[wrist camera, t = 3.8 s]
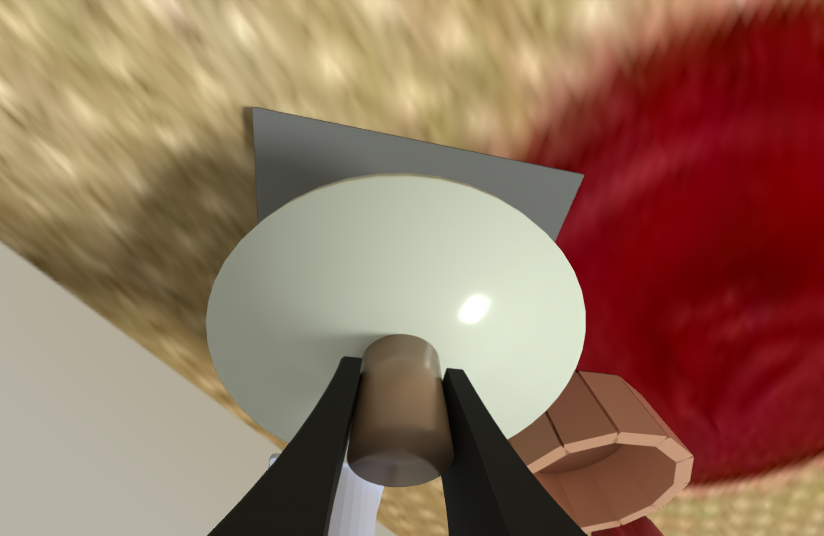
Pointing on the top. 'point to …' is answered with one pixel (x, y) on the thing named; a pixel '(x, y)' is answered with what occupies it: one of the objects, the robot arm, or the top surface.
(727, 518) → the top surface
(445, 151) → the mat
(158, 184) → the top surface
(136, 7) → the top surface
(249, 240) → the lid
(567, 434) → the bowl
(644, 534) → the onion
